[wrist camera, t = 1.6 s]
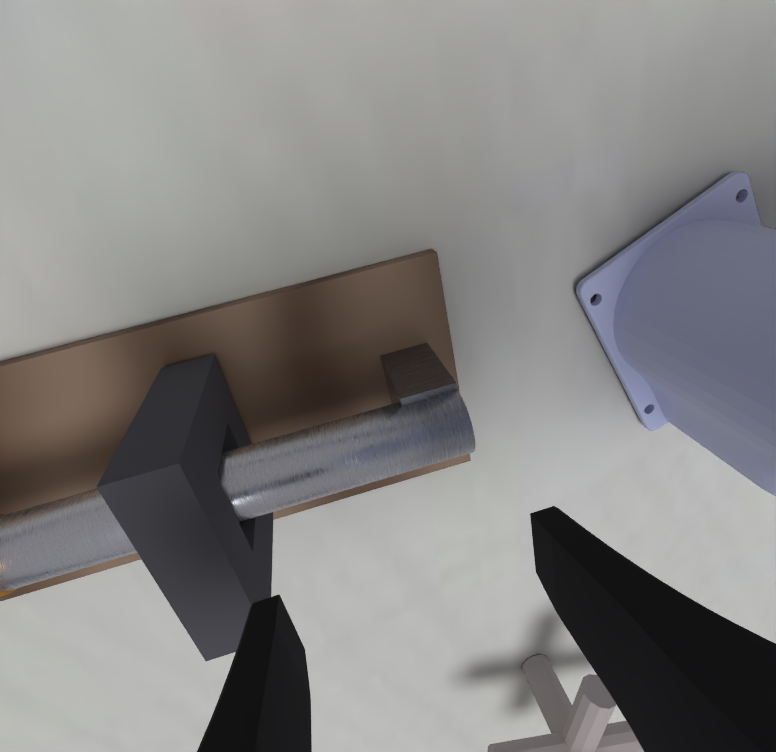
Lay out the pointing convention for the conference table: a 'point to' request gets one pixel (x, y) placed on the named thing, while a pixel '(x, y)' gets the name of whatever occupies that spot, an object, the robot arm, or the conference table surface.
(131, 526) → the rubber collar
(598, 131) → the conference table surface
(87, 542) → the steel pipe
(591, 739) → the pipe connector
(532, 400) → the conference table surface
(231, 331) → the walnut board
